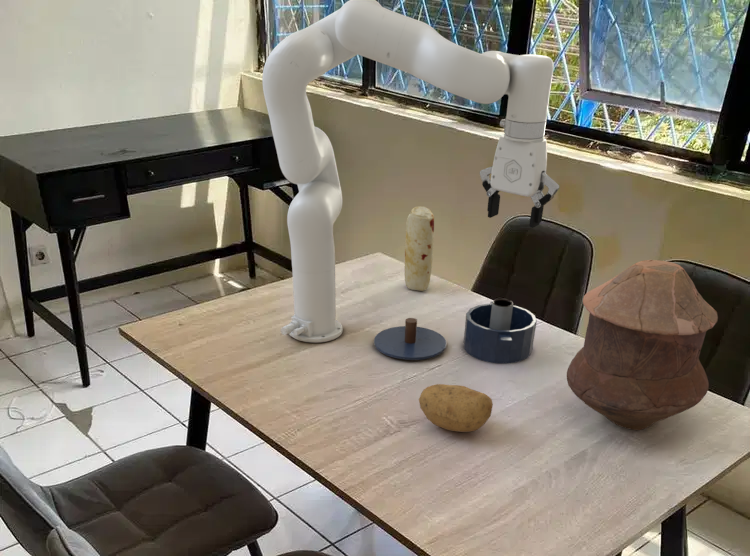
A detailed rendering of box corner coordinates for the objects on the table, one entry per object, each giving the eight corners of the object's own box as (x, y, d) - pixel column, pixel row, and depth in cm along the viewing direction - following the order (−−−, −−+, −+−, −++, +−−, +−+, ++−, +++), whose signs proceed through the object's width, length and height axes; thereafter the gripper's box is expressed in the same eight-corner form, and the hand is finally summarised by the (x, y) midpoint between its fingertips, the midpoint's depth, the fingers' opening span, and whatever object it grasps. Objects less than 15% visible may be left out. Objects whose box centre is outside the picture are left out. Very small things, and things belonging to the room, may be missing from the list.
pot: (524, 329, 183) (528, 299, 178) (537, 370, 166) (543, 338, 162) (460, 328, 183) (463, 297, 178) (467, 368, 166) (470, 336, 162)
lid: (443, 331, 181) (445, 306, 177) (448, 363, 168) (450, 337, 164) (374, 329, 181) (374, 304, 177) (373, 361, 168) (373, 335, 164)
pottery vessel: (628, 467, 137) (670, 306, 119) (532, 404, 154) (556, 256, 136) (723, 428, 148) (774, 276, 130) (623, 374, 166) (657, 233, 148)
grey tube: (509, 343, 175) (515, 300, 169) (505, 351, 172) (511, 307, 166) (489, 340, 177) (494, 297, 170) (485, 348, 173) (490, 304, 167)
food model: (436, 292, 200) (442, 213, 188) (412, 295, 198) (416, 215, 186) (421, 278, 208) (425, 202, 196) (398, 281, 206) (401, 204, 194)
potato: (428, 406, 153) (430, 370, 148) (496, 423, 148) (501, 386, 143) (408, 430, 146) (410, 392, 141) (479, 448, 141) (484, 410, 136)
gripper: (475, 126, 149) (467, 216, 159) (556, 140, 141) (542, 234, 151) (495, 120, 154) (486, 208, 164) (575, 133, 146) (560, 225, 156)
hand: (513, 220), depth 158 cm, fingers open, 9 cm apart
